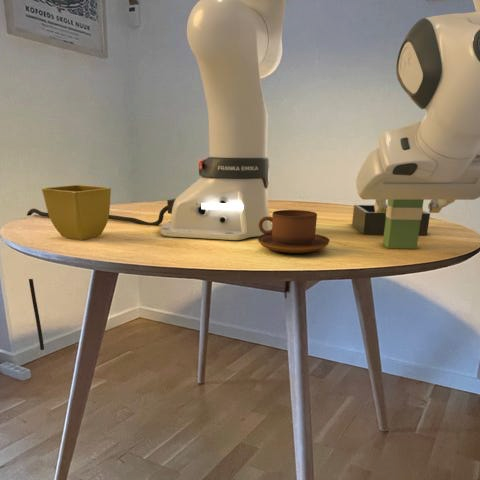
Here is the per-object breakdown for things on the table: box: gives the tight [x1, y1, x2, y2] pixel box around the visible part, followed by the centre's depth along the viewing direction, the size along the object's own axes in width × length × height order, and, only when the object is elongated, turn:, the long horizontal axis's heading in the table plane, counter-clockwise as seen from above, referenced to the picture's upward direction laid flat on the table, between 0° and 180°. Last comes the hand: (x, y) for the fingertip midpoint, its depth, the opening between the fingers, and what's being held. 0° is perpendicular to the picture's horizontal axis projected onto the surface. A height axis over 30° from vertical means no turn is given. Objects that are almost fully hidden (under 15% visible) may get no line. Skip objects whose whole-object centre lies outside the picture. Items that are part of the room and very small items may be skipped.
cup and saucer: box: [257, 209, 330, 254], centre depth 79 cm, size 12×12×6 cm
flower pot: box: [41, 184, 112, 241], centre depth 86 cm, size 9×9×9 cm
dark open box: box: [351, 204, 431, 236], centre depth 98 cm, size 13×12×4 cm
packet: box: [382, 200, 425, 250], centre depth 81 cm, size 5×4×9 cm
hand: (405, 209), depth 80 cm, fingers open, 8 cm apart
